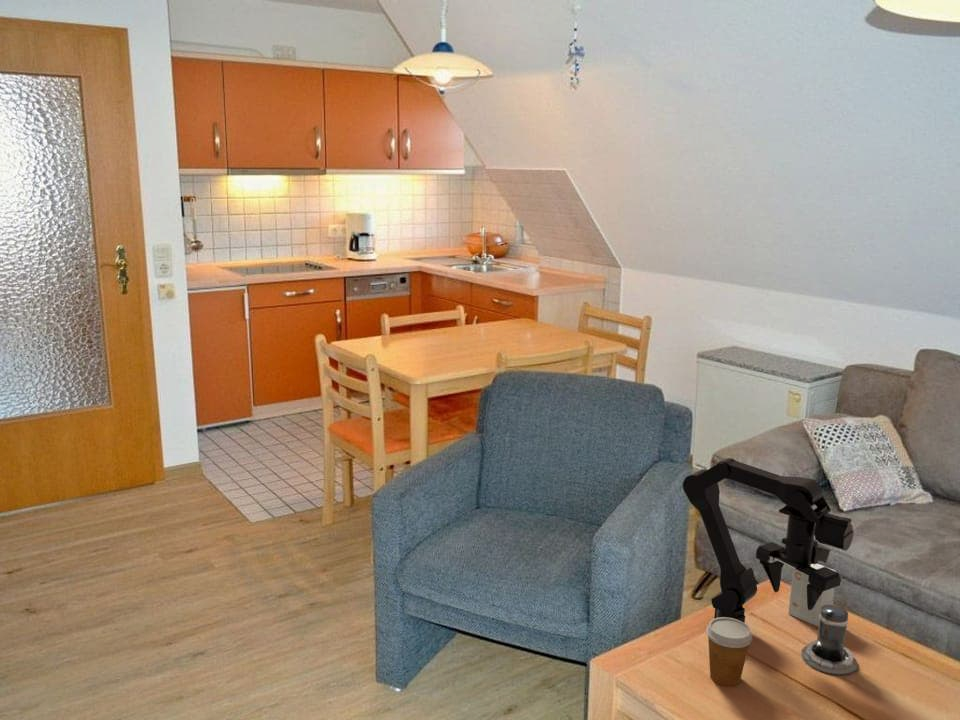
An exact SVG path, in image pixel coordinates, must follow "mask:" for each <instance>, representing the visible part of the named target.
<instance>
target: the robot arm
mask: <svg viewBox="0 0 960 720" xmlns="http://www.w3.org/2000/svg"><path fill="white" fill-rule="evenodd" d="M723 480H730V481H733V482H735V483H739V484H741V485H744V486H747V487H749V488H752V489H756V490H759V491H761V492H764V493H766V494H770V495H772V496H774V497H776V498H777V499H778V500H780V501H781V503H783V504H784V505H785V506H783V507H781V508H780V509H778V512H779V513H780V514H783V515H786V516H788V517H787V527H786V536H785V537H783V538H781V544H783V545H784V546H782V545H780V544H778V543H775V542H773V541H772V542H771V541H770V542H767V543H764V544H761V545H759V546H758V547H757V548H756V550H755V555H754V556H755V559H757V560H759V564H761V566H762V568H763V569H764V571H765V573H766V575H767V577H768V579H769V582H770V584H771V587H772V589H773V592H774V593H778V592H779V590H780V587H781V586H780V585H781V580H782V579H781V578H782V571H783V570H782V569H783V567H784V565H786V566H788V567H790V568H792V569H793V568H794V569H796V570H798V571H801V572H803V573H805V574H807V575H809V578H808V581H809V583H810V584H808V585H807V606H808V610H812V609H813V607H814V606H815V604H816V602H817V601H818V599H819V597H820V595H821V594H822V593H823V591H826V590H829V589H831V588H834V587H835V588H837V587H840V586H841V582H842V577H841V574H840V573H839V572H838V571H836V570H835V571H836V572H835V571H833V570H834V569H833V570H831V569H832V568H830V567H827V566H825V567H823V568H820V569H815V568H813V567H811V564H819V563H818V562H823V563H824V564H826V563H827V561H828V558H829V555H830V553H831V549H830V548H828V547H825V546H824V545H826V546H829V547H833V548H835V549H839V550H842V551H845V552H846V551H848V550H849V549H850V547H851V545H852V541H853V538H854V533H855V531H854V527H853V524H852V519H851V518H850V517H847V516H846V517H844V516H840V515H836V514H831V513H830V512H831V511H832V509H831V507H830V505H829V503H828V502H827V499H826V498H825V496H824V495H823V489H822V487H821V486H820V483H819V482H818V481H817V480H815V479H813V478H807V477H801V476H784V475H780V474H776V473H774V472H770V471H767V470H765V469H762V468H759V467H755V466H752V465H750V464H746V463H744V462H740V461H737V460H736V459H734V458H731V457H728V458H725V459H723V460H720V461H719V462H718V463H716V465H714V466H712V467H710V468H708V469H706V468H702V469H700V470H697V471H695V472H693V473H692V474H689V475H687V476H686V477H685V478H684V480H683V482H682V490H683V492H684V494H685V496H686V497H687V499H688V502H689V503H690V504H691V505H692V506H693V507H694V508H695V509H696V510H697V511H698V513H699V514H700V517H701V520H702V523H703V525H704V529H705V531H706V533H707V537H708V539H709V541H710V544H711V546H712V549H713V553H714V556H715V558H716V560H717V563H718V567H719V569H720V574H719V588H720V592H719V593H717V594H716V595H715V596H713V597H711V600H710V601H711V606H712V608H714V617H713V619H715V618H719V617H727V618H734V619H737V620H740V621H742V622H744V623H745V624H746V621H745V620H746V616H745V610H746V608H745V607H743V606H744V605H746V603H748V602H749V601H750V600H752V599H753V598H754V597H755V596H756V594H757V592H758V587H757V586H758V584H759V582H758V580H757V579H756V577H755V573H754V570H753V568H752V567H748V568H747V567H745V565H744V564H742V562H741V561H740V558H739V556H738V553H737V550H736V547H735V544H734V542H733V539H732V537H731V534H730V532H729V529H728V526H727V522H726V521H725V518H724V515H723V513H722V509H721V507H720V494H721V493H720V486H719V483H720V482H721V481H723ZM814 506H815V507H816V508H815V509H814V508H813V507H814ZM821 544H822V545H821ZM829 568H830V569H829ZM835 588H834V589H835Z"/></svg>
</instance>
